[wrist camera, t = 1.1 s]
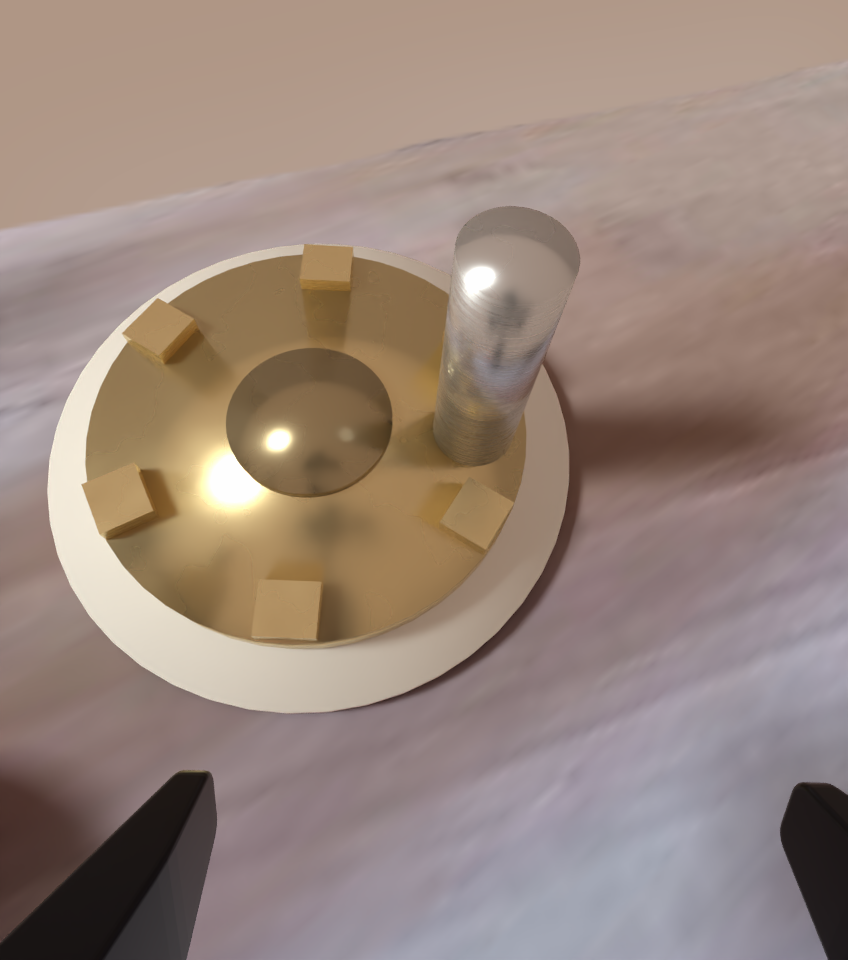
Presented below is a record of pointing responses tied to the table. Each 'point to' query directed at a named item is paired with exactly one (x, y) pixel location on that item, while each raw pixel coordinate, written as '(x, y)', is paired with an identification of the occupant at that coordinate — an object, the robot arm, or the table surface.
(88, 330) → the table surface
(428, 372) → the brass lugged disc
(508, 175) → the table surface
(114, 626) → the base plate
